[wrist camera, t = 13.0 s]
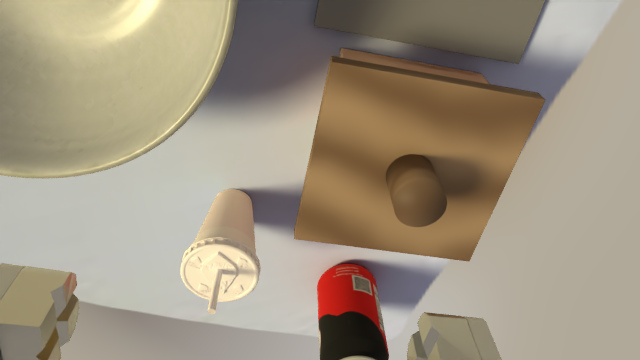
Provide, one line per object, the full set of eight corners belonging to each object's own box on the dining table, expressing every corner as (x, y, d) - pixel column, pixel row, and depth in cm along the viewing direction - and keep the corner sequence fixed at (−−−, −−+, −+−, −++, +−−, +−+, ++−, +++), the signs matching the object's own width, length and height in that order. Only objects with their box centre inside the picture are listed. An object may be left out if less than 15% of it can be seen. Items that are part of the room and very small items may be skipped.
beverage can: (332, 250, 52) (340, 345, 42) (385, 268, 53) (405, 364, 43) (307, 290, 55) (309, 387, 45) (357, 306, 56) (370, 404, 46)
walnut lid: (331, 55, 33) (336, 85, 29) (538, 92, 35) (572, 126, 31) (294, 229, 41) (293, 273, 37) (465, 251, 43) (483, 296, 39)
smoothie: (266, 178, 47) (255, 285, 35) (266, 231, 50) (256, 346, 38) (197, 175, 46) (162, 283, 35) (201, 229, 50) (171, 344, 38)
